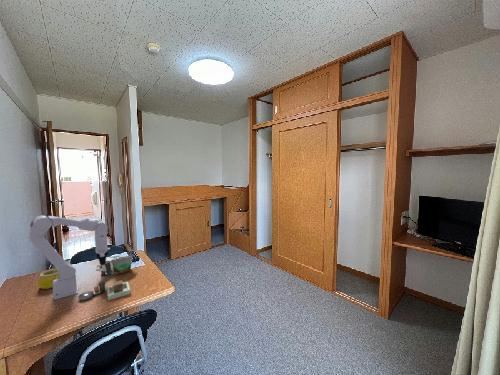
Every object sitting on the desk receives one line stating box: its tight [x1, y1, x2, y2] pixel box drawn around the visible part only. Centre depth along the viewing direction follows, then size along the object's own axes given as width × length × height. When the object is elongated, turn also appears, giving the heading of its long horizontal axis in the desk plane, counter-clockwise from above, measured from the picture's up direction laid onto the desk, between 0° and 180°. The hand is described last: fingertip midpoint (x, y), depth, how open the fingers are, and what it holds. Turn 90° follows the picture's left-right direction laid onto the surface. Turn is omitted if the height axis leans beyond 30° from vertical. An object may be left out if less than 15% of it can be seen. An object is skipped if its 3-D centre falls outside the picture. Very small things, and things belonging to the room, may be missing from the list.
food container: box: [111, 253, 133, 276], centre depth 137 cm, size 12×6×10 cm, turn 143°
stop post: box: [93, 284, 99, 292], centre depth 116 cm, size 2×2×4 cm
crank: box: [77, 281, 106, 302], centre depth 113 cm, size 12×6×5 cm, turn 129°
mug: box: [38, 266, 60, 290], centre depth 123 cm, size 13×11×12 cm
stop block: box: [112, 279, 124, 293], centre depth 115 cm, size 4×4×5 cm
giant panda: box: [95, 257, 117, 277], centre depth 135 cm, size 15×6×10 cm, turn 174°
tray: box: [106, 281, 131, 301], centre depth 115 cm, size 10×10×2 cm
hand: (102, 264), depth 127 cm, fingers closed
